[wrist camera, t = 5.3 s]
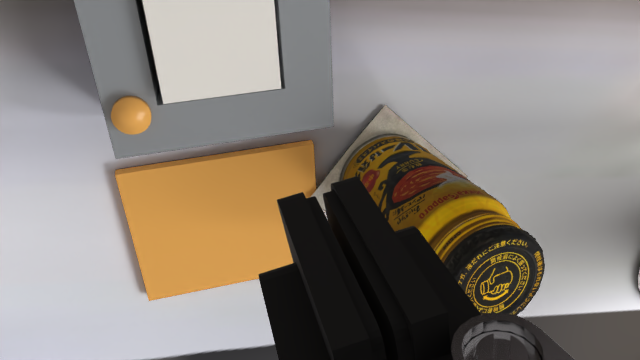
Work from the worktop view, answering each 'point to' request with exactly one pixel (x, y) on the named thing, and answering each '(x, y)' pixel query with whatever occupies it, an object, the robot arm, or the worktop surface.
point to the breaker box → (211, 113)
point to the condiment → (444, 213)
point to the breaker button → (213, 47)
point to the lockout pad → (213, 215)
